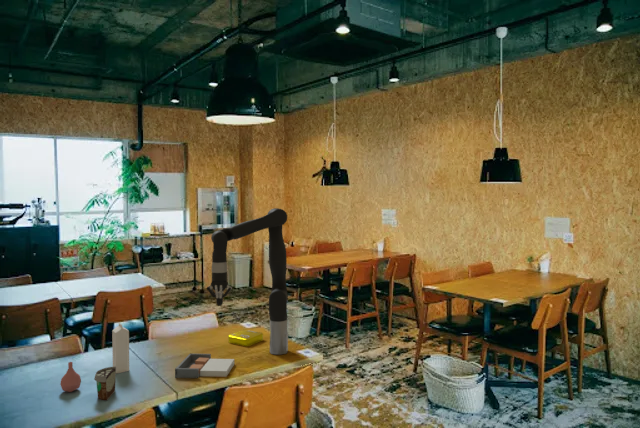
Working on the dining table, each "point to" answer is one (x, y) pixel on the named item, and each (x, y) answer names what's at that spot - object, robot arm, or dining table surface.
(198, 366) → the tile outer
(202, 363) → the tile inner
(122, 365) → the milk
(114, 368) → the food container
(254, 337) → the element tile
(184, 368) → the tray
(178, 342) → the dining table surface
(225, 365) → the board
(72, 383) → the pink bulb-shaped piece
